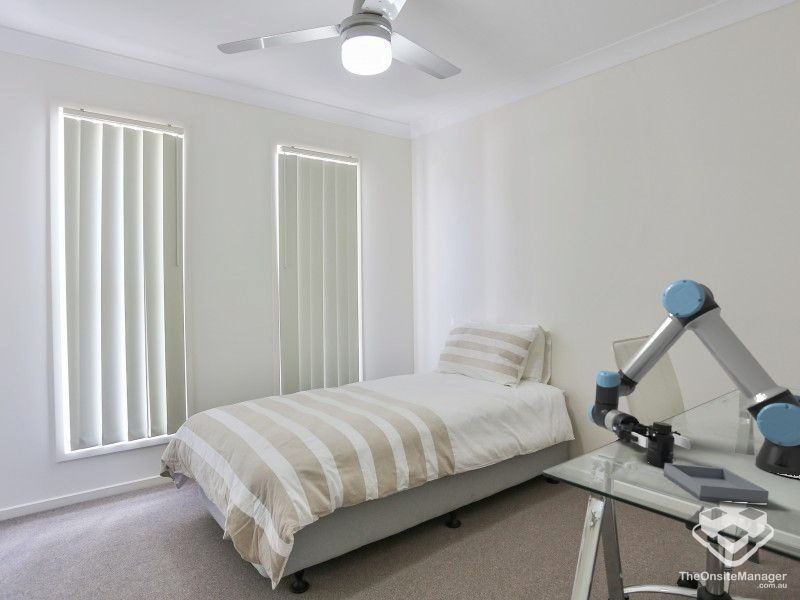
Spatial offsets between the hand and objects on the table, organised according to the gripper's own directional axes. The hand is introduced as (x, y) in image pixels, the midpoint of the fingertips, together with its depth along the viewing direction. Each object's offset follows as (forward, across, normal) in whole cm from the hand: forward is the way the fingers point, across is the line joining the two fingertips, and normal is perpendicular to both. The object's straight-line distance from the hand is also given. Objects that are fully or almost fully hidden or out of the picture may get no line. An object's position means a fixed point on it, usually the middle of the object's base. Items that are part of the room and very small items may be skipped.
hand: (668, 444), depth 138 cm
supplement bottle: (-3, 0, -7) cm, 8 cm away
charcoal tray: (+15, -1, -7) cm, 17 cm away
